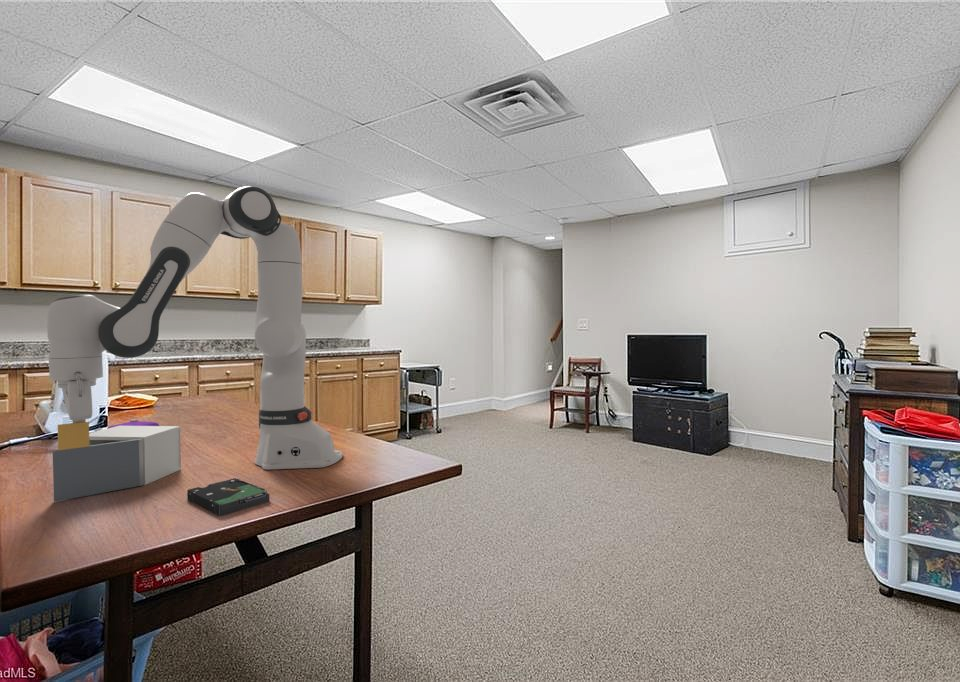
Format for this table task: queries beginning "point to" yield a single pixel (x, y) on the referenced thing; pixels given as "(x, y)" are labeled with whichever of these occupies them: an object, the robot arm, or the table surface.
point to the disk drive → (228, 496)
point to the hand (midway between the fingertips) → (79, 434)
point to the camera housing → (148, 447)
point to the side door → (93, 464)
